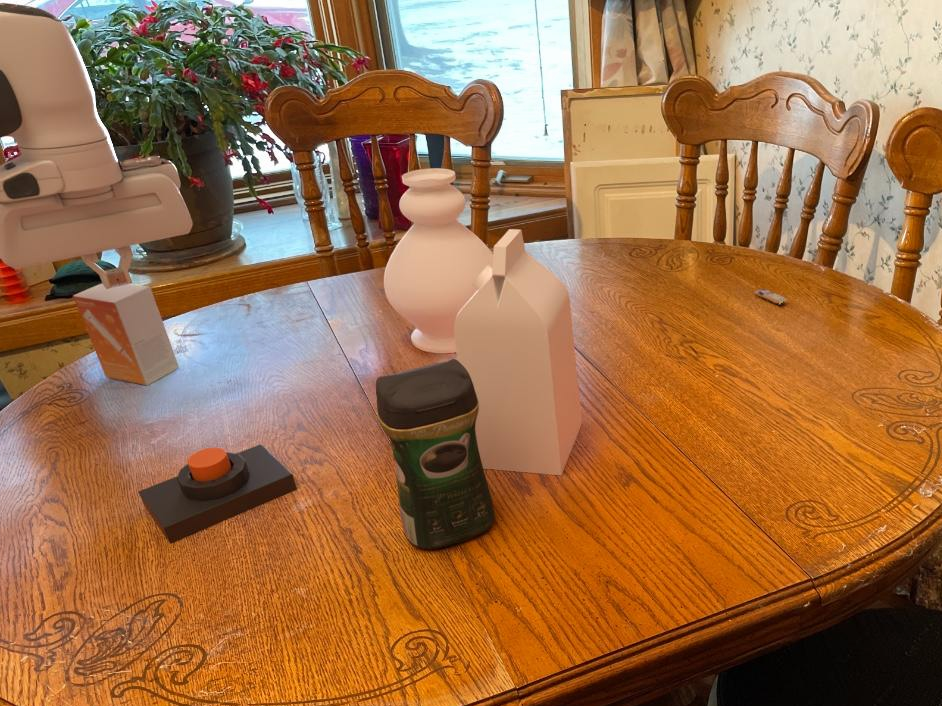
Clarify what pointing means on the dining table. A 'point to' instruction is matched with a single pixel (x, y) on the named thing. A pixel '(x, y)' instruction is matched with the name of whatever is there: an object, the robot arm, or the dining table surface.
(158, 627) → the dining table surface
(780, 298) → the granola bar
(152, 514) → the black base plate
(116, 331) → the small box
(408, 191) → the decorative vase
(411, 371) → the coffee jar
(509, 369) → the milk
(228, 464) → the button
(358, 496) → the dining table surface
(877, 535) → the dining table surface
